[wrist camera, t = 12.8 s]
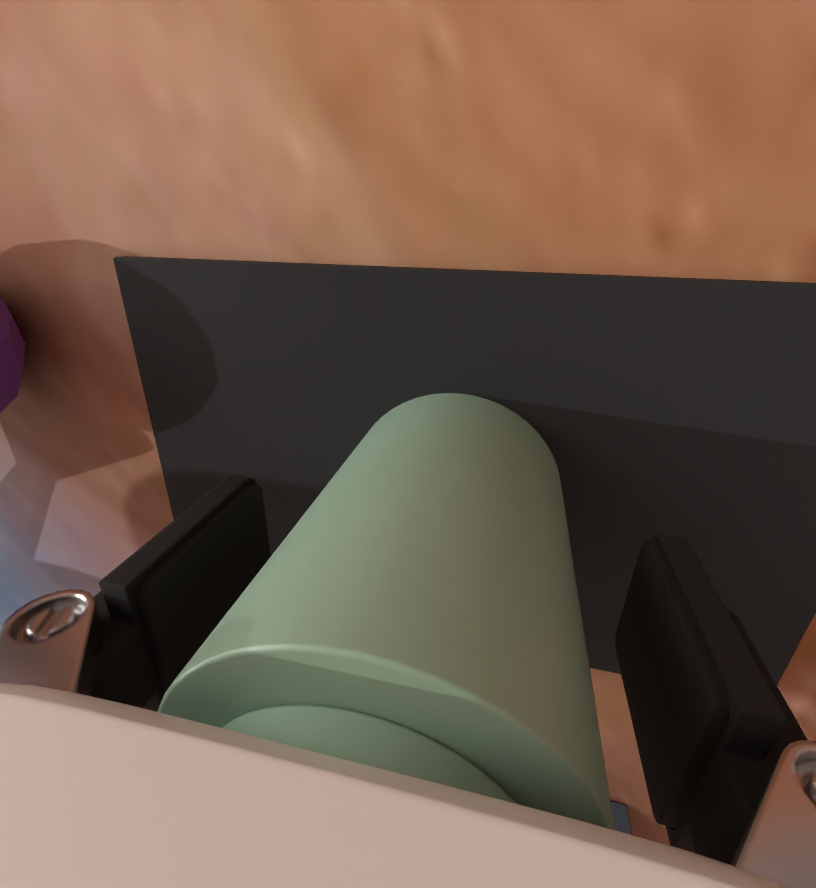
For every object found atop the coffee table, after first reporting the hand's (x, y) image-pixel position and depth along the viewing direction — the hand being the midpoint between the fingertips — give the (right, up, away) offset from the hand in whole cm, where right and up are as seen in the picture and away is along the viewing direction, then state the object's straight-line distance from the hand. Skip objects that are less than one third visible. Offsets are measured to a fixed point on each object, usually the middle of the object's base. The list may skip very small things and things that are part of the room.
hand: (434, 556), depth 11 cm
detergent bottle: (+1, +1, +3) cm, 3 cm away
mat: (+1, +1, +3) cm, 4 cm away
